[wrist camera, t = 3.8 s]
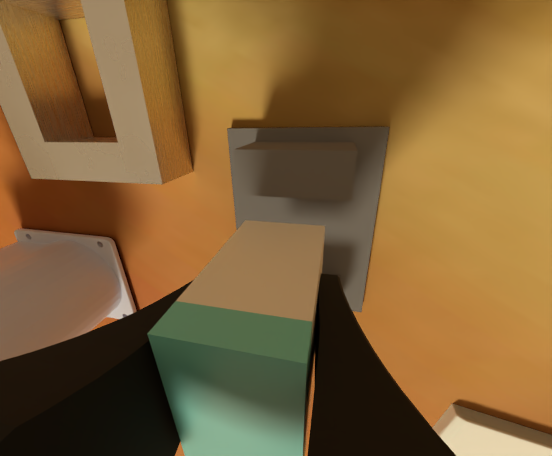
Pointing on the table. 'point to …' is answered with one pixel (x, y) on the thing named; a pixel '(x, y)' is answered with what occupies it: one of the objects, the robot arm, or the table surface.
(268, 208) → the holster
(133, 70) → the port
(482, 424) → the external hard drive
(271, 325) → the plug
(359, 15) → the table surface
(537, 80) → the table surface
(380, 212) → the table surface
